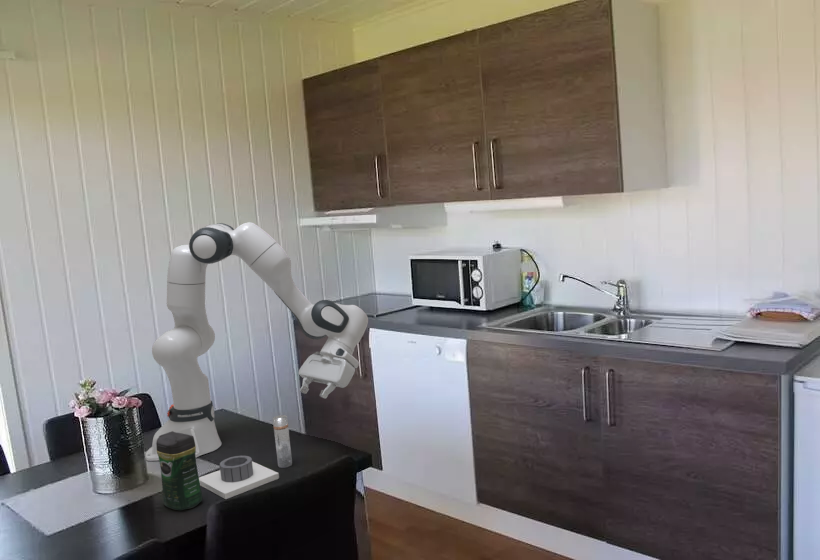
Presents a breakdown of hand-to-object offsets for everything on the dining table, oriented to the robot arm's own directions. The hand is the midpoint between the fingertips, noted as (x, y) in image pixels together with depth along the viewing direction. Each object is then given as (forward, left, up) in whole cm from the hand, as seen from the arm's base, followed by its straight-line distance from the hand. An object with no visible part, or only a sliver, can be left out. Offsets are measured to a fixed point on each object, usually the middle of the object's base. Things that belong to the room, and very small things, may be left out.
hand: (312, 394), depth 205 cm
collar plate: (-21, -16, -17) cm, 31 cm away
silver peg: (-9, -8, -17) cm, 21 cm away
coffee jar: (-33, -27, -18) cm, 46 cm away
